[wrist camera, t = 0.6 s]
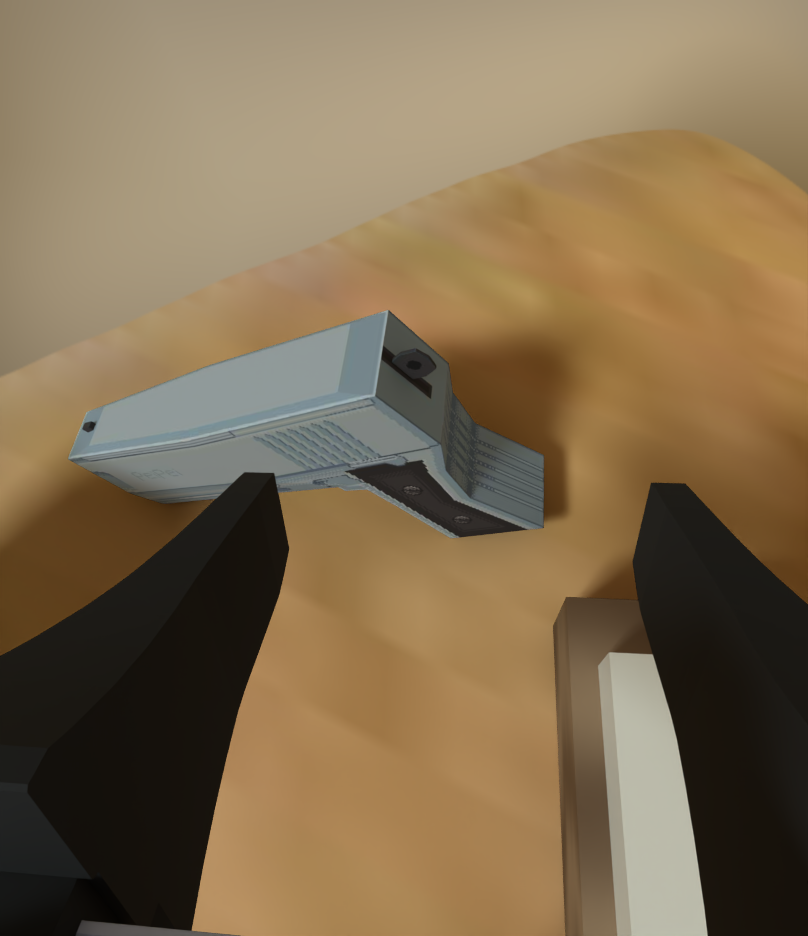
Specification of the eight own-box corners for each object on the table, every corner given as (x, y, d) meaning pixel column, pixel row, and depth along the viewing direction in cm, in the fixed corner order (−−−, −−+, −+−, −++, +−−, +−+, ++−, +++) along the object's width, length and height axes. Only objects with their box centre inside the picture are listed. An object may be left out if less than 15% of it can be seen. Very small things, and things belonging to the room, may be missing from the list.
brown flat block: (893, 1081, 21) (981, 1131, 17) (569, 1046, 22) (591, 1087, 18) (797, 637, 28) (846, 609, 24) (553, 625, 28) (566, 596, 25)
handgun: (247, 507, 39) (75, 398, 30) (546, 458, 31) (428, 286, 22) (233, 565, 38) (46, 467, 29) (546, 531, 29) (418, 376, 20)
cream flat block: (836, 999, 19) (875, 1016, 17) (620, 978, 19) (636, 992, 18) (773, 674, 23) (799, 662, 21) (597, 665, 24) (609, 652, 22)
